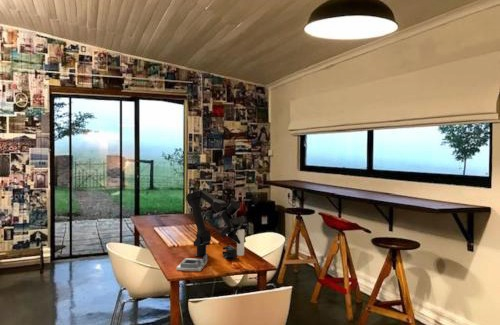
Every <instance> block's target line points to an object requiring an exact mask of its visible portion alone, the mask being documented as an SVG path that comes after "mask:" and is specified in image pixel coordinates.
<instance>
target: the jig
mask: <svg viewBox="0 0 500 325" xmlns="http://www.w3.org/2000/svg"><path fill="white" fill-rule="evenodd" d="M207 254H208V253H206V254H205V256H204V257H202V258H190V257H189V258H187V257H185V258H184V259H183V260H182V261H181V262H180V263H179V264H178V265H177V266H176V268H175V270H176V271H184V272H185V271H187V272H188V271H189V272H201V271H202V270H203V269H204V267H205V266H206V265H207V263H208V260H209V259H208V255H207Z"/></svg>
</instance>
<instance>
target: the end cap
mask: <svg viewBox="0 0 500 325" xmlns="http://www.w3.org/2000/svg"><path fill="white" fill-rule="evenodd" d="M222 250H224V251H222V257H223V259H225V260H226V261H233V260H235V259H236V258H237V257H238V255H237V248H235V247H234V246H233V245H231V244H228V246H226V245H225V246H222Z"/></svg>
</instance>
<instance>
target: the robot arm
mask: <svg viewBox="0 0 500 325" xmlns="http://www.w3.org/2000/svg"><path fill="white" fill-rule="evenodd" d="M185 199H186V202H187V204H188V206H189V207H190V208H191V209H192V214H193V217H194V222H195V225H196V229H197V231H196V234H195V236H196V237H195V238H196V239H195V240H193V246H194V247H196V254H194V256H195V257H200V258H201V257H202V258H203V257H204V256H205V254H207V256H208V255H209V253H207V246H210V243H211V241H212V234H211V231H210V229H207V228H206V225H205V221H204V218H203V213H202V209H201V206H200V205H201V201H202V200H203V201H205V202H207V203H208V204H209V205H210V206H211V207H212V209H213V210H214V211H215V212H216V213H219V214H218V220H220V219H221V220H222V221H223V223H224V224H223V225H224V227H223V228H222V230H221V231H220V232H219V234H220V235H219V236H220V237H221V238H225V237H226V238H228V239H230V240H232V241H233V242H235V243H236V244H237V243H238V244H240V241H239V239H238V237H237V230H238V229H244V230H245V232H244V244H245V243H246V237H245V236H246V235H245V234H246V232H247V231H248V230H249V229H250V225H249V223H245V222H246V217H245V216H244V215H241V216H239V217H235V218H234V217H233V216H235V214H236V213H237V212H238V211H239V210H240V208H241V205H240V204H239V203H238V202H237V201H235V200H234V199H233V200H232V199H231V200H230V201H229V202H228V203H227V202H226V201H224V200H221V199H218V198H216V197H215V196H213V195H212V194H211V193H209V192H208V191H207V189H198V190H196V191H194V192H189V193H187V194H186V198H185Z"/></svg>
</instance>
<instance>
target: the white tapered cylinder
mask: <svg viewBox="0 0 500 325" xmlns="http://www.w3.org/2000/svg"><path fill="white" fill-rule="evenodd" d="M244 232H245V230H244V229H238V230H237V232H236V235H237V237H238V239H239V241H240V244H238V243H237V242H236V250H237V255H238V256H240V257H241V256H242V257H243V256H245V243H244V235H245V233H246V232H245V233H244ZM238 256H237V257H238Z"/></svg>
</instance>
